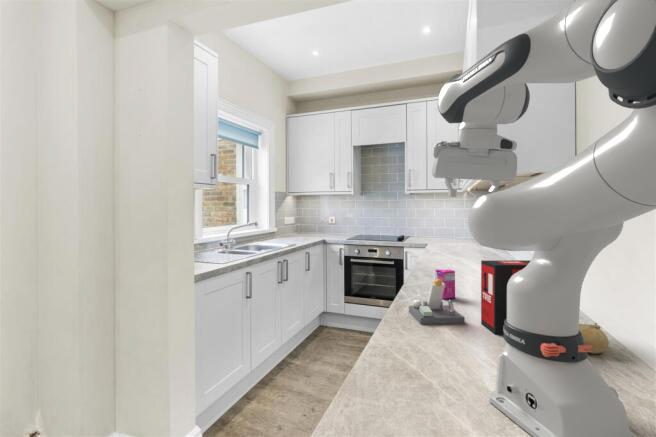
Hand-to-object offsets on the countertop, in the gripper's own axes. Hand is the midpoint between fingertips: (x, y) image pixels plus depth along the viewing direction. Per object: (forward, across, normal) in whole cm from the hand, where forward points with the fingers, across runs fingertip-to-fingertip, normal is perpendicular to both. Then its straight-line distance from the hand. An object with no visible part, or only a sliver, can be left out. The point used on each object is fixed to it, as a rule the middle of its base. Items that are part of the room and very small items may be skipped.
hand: (470, 197), depth 82 cm
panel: (+42, +1, +19) cm, 46 cm away
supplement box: (+44, +12, +44) cm, 63 cm away
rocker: (+38, -4, +15) cm, 41 cm away
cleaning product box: (+39, +21, +8) cm, 45 cm away
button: (+40, -4, +24) cm, 47 cm away
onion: (+37, +31, -6) cm, 49 cm away
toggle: (+38, +5, +17) cm, 42 cm away
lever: (+39, 0, +21) cm, 44 cm away
